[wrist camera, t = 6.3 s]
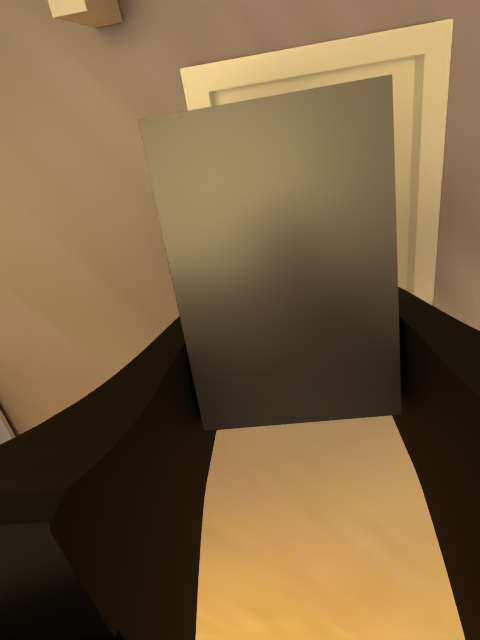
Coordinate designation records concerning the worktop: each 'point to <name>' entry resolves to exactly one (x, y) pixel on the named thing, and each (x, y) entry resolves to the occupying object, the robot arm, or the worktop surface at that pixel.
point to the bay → (87, 11)
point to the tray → (408, 111)
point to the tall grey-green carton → (284, 252)
